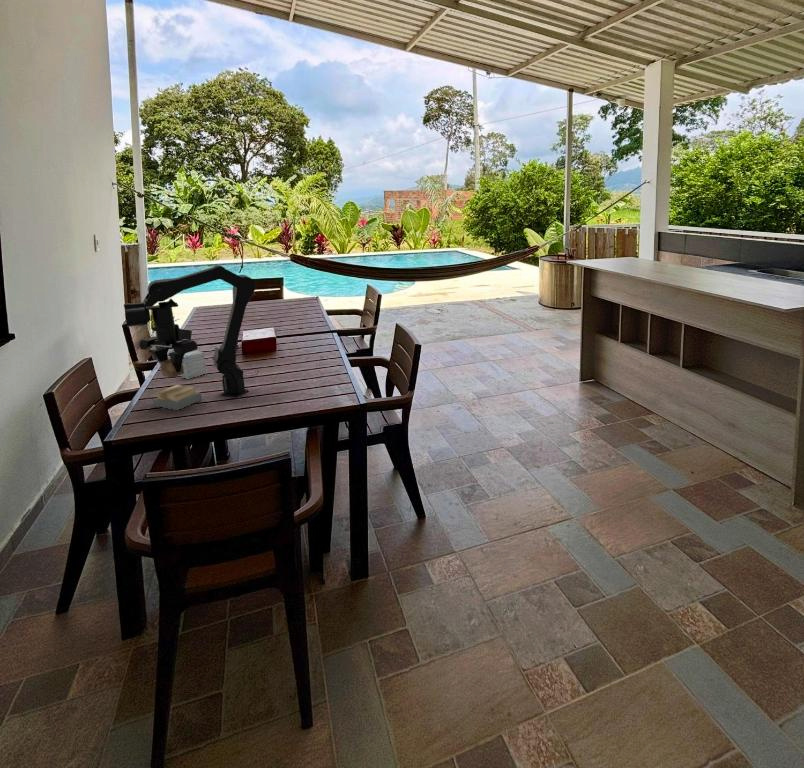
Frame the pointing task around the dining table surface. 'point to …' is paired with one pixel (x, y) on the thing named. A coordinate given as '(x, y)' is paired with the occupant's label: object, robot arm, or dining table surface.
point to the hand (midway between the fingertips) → (172, 371)
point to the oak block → (176, 393)
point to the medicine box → (193, 364)
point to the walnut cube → (169, 369)
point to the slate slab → (178, 404)
